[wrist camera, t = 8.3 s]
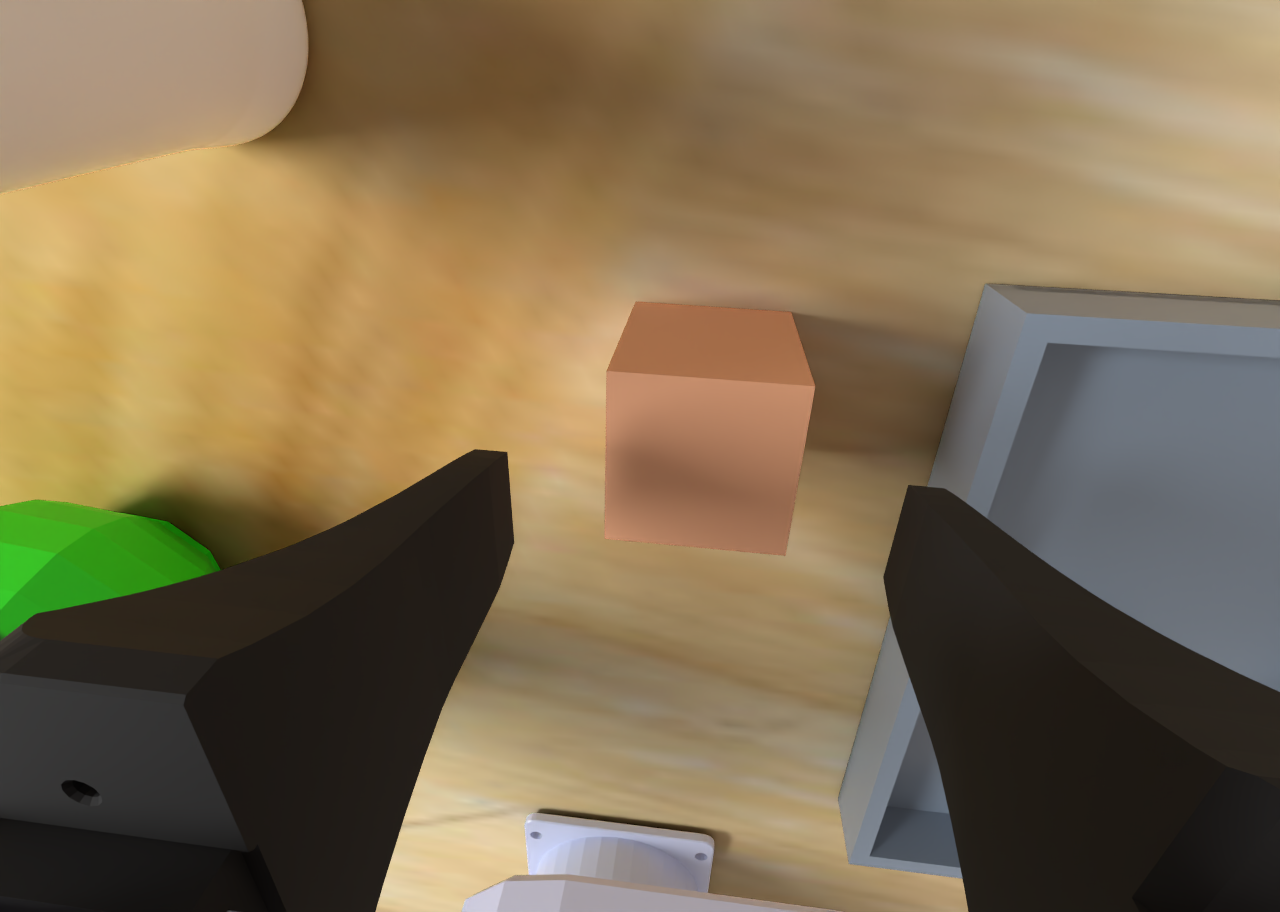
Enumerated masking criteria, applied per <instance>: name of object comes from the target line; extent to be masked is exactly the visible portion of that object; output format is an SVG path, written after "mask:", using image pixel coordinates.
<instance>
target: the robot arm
mask: <svg viewBox="0 0 1280 912" xmlns="http://www.w3.org/2000/svg"><path fill="white" fill-rule="evenodd" d="M513 544H514V534H513V521H512V508H511V495H510V482H509V469H508V456H507V452H500V451H488V450H476V449H475V450H473V451H471V452H469V453H467V454H465V455H463V456H461V457H459V458H458V459H456V460H454V461H452V462H451V463H449V464H447V465H446V466H444V467H442V468H441V469H439V470H437V471H436V472H434V473H432V474H431V475H429V476H427V477H426V478H424V479H422V480H421V481H419V482H417V483H415V484H414V485H412V486H410V487H409V488H407V489H405V490H404V491H402V492H400V493H398V494H397V495H395V496H393V497H391V498H389V499H387V500H386V501H384V502H382V503H380V504H378V505H376V506H374V507H372V508H371V509H369V510H367V511H365V512H363V513H361V514H359V515H357V516H355V517H354V518H352V519H350V520H348V521H346V522H344V523H342V524H339V525H337V526H335V527H333V528H331V529H329V530H326V531H324V532H322V533H320V534H317V535H315V536H313V537H310V538H308V539H306V540H303V541H301V542H298V543H296V544H294V545H291V546H289V547H286V548H283V549H281V550H278V551H275V552H272V553H269V554H266V555H264V556H261V557H258V558H255V559H252V560H249V561H246V562H244V563H241V564H238V565H235V566H232V567H229V568H226V569H223V570H220V571H217V572H213V573H210V574H206V575H203V576H200V577H196V578H193V579H189V580H186V581H182V582H178V583H174V584H171V585H167V586H163V587H159V588H155V589H151V590H147V591H143V592H139V593H135V594H130V595H126V596H121V597H116V598H112V599H107V600H102V601H97V602H92V603H87V604H82V605H78V606H73V607H68V608H63V609H58V610H53V611H47V612H41V613H37V614H35V615H33V616H32V617H30V618H29V619H28V620H26V621H25V622H24V623H23V624H21V625H20V626H19V627H17V628H16V629H15V630H14V631H12V632H11V633H10V634H8V635H7V636H6V637H5V638H3V639H2V640H1V641H0V912H375V911H376V907H377V904H378V900H379V897H380V893H381V890H382V886H383V883H384V880H385V877H386V873H387V870H388V867H389V864H390V861H391V857H392V854H393V851H394V848H395V845H396V842H397V838H398V835H399V832H400V829H401V826H402V822H403V819H404V816H405V813H406V810H407V807H408V804H409V801H410V798H411V795H412V792H413V789H414V786H415V783H416V780H417V777H418V775H419V772H420V769H421V766H422V763H423V760H424V757H425V754H426V751H427V749H428V746H429V743H430V740H431V738H432V735H433V732H434V729H435V727H436V724H437V721H438V718H439V715H440V713H441V710H442V707H443V705H444V703H445V701H446V698H447V696H448V694H449V691H450V689H451V687H452V685H453V683H454V680H455V678H456V676H457V674H458V672H459V670H460V668H461V666H462V664H463V662H464V660H465V658H466V656H467V654H468V652H469V650H470V648H471V646H472V644H473V642H474V640H475V638H476V636H477V634H478V632H479V630H480V628H481V625H482V623H483V621H484V619H485V617H486V615H487V613H488V611H489V609H490V607H491V605H492V603H493V601H494V599H495V596H496V594H497V592H498V590H499V588H500V585H501V582H502V579H503V576H504V573H505V570H506V567H507V564H508V561H509V557H510V554H511V551H512V548H513ZM884 583H885V589H886V595H887V601H888V607H889V612H890V617H891V622H892V627H893V630H894V633H895V636H896V639H897V642H898V645H899V648H900V651H901V654H902V657H903V660H904V663H905V666H906V669H907V672H908V675H909V678H910V681H911V683H912V686H913V689H914V692H915V695H916V698H917V701H918V704H919V707H920V710H921V713H922V715H923V718H924V721H925V724H926V727H927V730H928V733H929V736H930V739H931V742H932V745H933V749H934V752H935V756H936V759H937V762H938V766H939V770H940V775H941V779H942V783H943V788H944V792H945V797H946V801H947V806H948V810H949V814H950V819H951V823H952V828H953V833H954V838H955V843H956V848H957V853H958V858H959V863H960V868H961V873H962V878H963V883H964V888H965V894H966V899H967V905H968V911H969V912H1280V692H1279V691H1277V690H1275V689H1272V688H1270V687H1268V686H1266V685H1264V684H1261V683H1259V682H1257V681H1255V680H1252V679H1250V678H1248V677H1246V676H1244V675H1242V674H1239V673H1237V672H1235V671H1233V670H1231V669H1229V668H1227V667H1225V666H1223V665H1221V664H1219V663H1217V662H1215V661H1213V660H1211V659H1209V658H1207V657H1205V656H1203V655H1201V654H1199V653H1197V652H1195V651H1193V650H1191V649H1189V648H1187V647H1185V646H1183V645H1181V644H1179V643H1177V642H1175V641H1173V640H1172V639H1170V638H1168V637H1166V636H1164V635H1162V634H1160V633H1158V632H1157V631H1155V630H1153V629H1151V628H1150V627H1148V626H1146V625H1144V624H1143V623H1141V622H1139V621H1137V620H1136V619H1134V618H1132V617H1131V616H1129V615H1127V614H1125V613H1124V612H1122V611H1120V610H1118V609H1117V608H1115V607H1113V606H1112V605H1110V604H1108V603H1107V602H1105V601H1104V600H1102V599H1100V598H1099V597H1097V596H1095V595H1094V594H1092V593H1091V592H1089V591H1088V590H1086V589H1085V588H1083V587H1082V586H1080V585H1079V584H1077V583H1076V582H1074V581H1073V580H1071V579H1070V578H1068V577H1067V576H1065V575H1064V574H1062V573H1061V572H1059V571H1058V570H1056V569H1055V568H1054V567H1052V566H1051V565H1049V564H1048V563H1046V562H1045V561H1044V560H1042V559H1041V558H1039V557H1038V556H1037V555H1035V554H1034V553H1033V552H1031V551H1030V550H1028V549H1027V548H1026V547H1024V546H1023V545H1022V544H1020V543H1019V542H1018V541H1016V540H1015V539H1014V538H1012V537H1011V536H1010V535H1008V534H1007V533H1006V532H1004V531H1003V530H1002V529H1000V528H999V527H998V526H996V525H995V524H994V523H992V522H991V521H990V520H988V519H987V518H986V517H985V516H983V515H982V514H981V513H979V512H978V511H977V510H975V509H974V508H973V507H971V506H970V505H969V504H967V503H966V502H964V501H963V500H962V499H960V498H959V497H957V496H956V495H954V494H953V493H951V492H950V491H948V490H947V489H945V488H936V487H924V486H912V485H908V488H907V492H906V496H905V499H904V503H903V507H902V510H901V514H900V518H899V522H898V525H897V529H896V533H895V536H894V540H893V544H892V547H891V551H890V555H889V558H888V562H887V566H886V569H885V573H884ZM525 836H526V848H527V859H528V870H529V875H514V876H512V877H510V878H508V879H506V880H504V881H502V882H499V883H497V884H495V885H493V886H491V887H489V888H487V889H484V890H482V891H480V892H478V893H476V894H475V895H473V896H471V897H469V898H467V899H466V900H465V902H464V905H463V909H462V912H844V911H838V910H831V909H823V908H816V907H808V906H801V905H793V904H786V903H779V902H771V901H764V900H756V899H749V898H742V897H734V896H727V895H719V894H712V893H708V889H709V882H710V875H711V868H712V862H713V855H714V840H713V839H712V838H711V837H710V836H708V835H706V834H701V833H693V832H685V831H677V830H669V829H661V828H653V827H646V826H638V825H630V824H622V823H614V822H606V821H598V820H591V819H583V818H575V817H567V816H559V815H551V814H543V813H531V814H529V815H528V816H527V818H526V822H525Z"/></svg>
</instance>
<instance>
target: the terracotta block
mask: <svg viewBox="0 0 1280 912" xmlns="http://www.w3.org/2000/svg"><path fill="white" fill-rule="evenodd" d="M814 391H815V384H814V381H813V378H812V375H811V371H810V368H809V365H808V362H807V359H806V356H805V353H804V350H803V347H802V344H801V341H800V338H799V335H798V332H797V328H796V325H795V322H794V319H793V316H792V313H791V312H783V311H768V310H753V309H738V308H723V307H708V306H693V305H677V304H662V303H647V302H635V305H634V307H633V309H632V312H631V314H630V316H629V319H628V321H627V324H626V326H625V328H624V331H623V333H622V336H621V338H620V340H619V343H618V345H617V347H616V350H615V352H614V355H613V357H612V359H611V362H610V364H609V367H608V369H607V383H606V466H605V539H614V540H624V541H635V542H646V543H656V544H667V545H678V546H688V547H699V548H710V549H720V550H731V551H741V552H752V553H763V554H773V555H784V556H785V555H786V549H787V543H788V538H789V532H790V526H791V521H792V515H793V510H794V504H795V498H796V493H797V487H798V481H799V476H800V470H801V465H802V459H803V453H804V448H805V442H806V436H807V431H808V425H809V420H810V414H811V408H812V403H813V397H814Z"/></svg>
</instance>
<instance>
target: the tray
mask: <svg viewBox="0 0 1280 912" xmlns="http://www.w3.org/2000/svg"><path fill="white" fill-rule="evenodd" d="M927 487H936V488H945V489H947V490H948V491H950V492H951V493H953V494H954V495H956V496H957V497H959V498H960V499H962V500H963V501H964V502H966V503H967V504H969V505H970V506H971V507H973V508H974V509H975V510H977V511H978V512H979V513H981V514H982V515H983V516H985V517H986V518H987V519H988V520H990V521H991V522H992V523H994V524H995V525H996V526H998V527H999V528H1000V529H1002V530H1003V531H1004V532H1006V533H1007V534H1008V535H1010V536H1011V537H1012V538H1014V539H1015V540H1016V541H1018V542H1019V543H1020V544H1022V545H1023V546H1024V547H1026V548H1027V549H1028V550H1030V551H1031V552H1033V553H1034V554H1035V555H1037V556H1038V557H1039V558H1041V559H1042V560H1044V561H1045V562H1046V563H1048V564H1049V565H1051V566H1052V567H1054V568H1055V569H1056V570H1058V571H1059V572H1061V573H1062V574H1064V575H1065V576H1067V577H1068V578H1070V579H1071V580H1073V581H1074V582H1076V583H1077V584H1079V585H1080V586H1082V587H1083V588H1085V589H1086V590H1088V591H1089V592H1091V593H1092V594H1094V595H1095V596H1097V597H1099V598H1100V599H1102V600H1104V601H1105V602H1107V603H1108V604H1110V605H1112V606H1113V607H1115V608H1117V609H1118V610H1120V611H1122V612H1124V613H1125V614H1127V615H1129V616H1131V617H1132V618H1134V619H1136V620H1137V621H1139V622H1141V623H1143V624H1144V625H1146V626H1148V627H1150V628H1151V629H1153V630H1155V631H1157V632H1158V633H1160V634H1162V635H1164V636H1166V637H1168V638H1170V639H1172V640H1173V641H1175V642H1177V643H1179V644H1181V645H1183V646H1185V647H1187V648H1189V649H1191V650H1193V651H1195V652H1197V653H1199V654H1201V655H1203V656H1205V657H1207V658H1209V659H1211V660H1213V661H1215V662H1217V663H1219V664H1221V665H1223V666H1225V667H1227V668H1229V669H1231V670H1233V671H1235V672H1237V673H1239V674H1242V675H1244V676H1246V677H1248V678H1250V679H1252V680H1255V681H1257V682H1259V683H1261V684H1264V685H1266V686H1268V687H1270V688H1272V689H1275V690H1277V691H1279V692H1280V301H1279V300H1262V299H1244V298H1227V297H1210V296H1192V295H1175V294H1158V293H1140V292H1123V291H1106V290H1088V289H1071V288H1054V287H1037V286H1019V285H1002V284H985V286H984V290H983V293H982V297H981V300H980V304H979V307H978V311H977V314H976V318H975V321H974V325H973V328H972V332H971V335H970V339H969V342H968V346H967V349H966V353H965V356H964V360H963V363H962V367H961V370H960V374H959V377H958V381H957V384H956V388H955V391H954V395H953V398H952V402H951V405H950V409H949V412H948V416H947V419H946V423H945V426H944V430H943V433H942V437H941V440H940V444H939V447H938V451H937V454H936V458H935V461H934V465H933V468H932V472H931V475H930V479H929V482H928V486H927ZM838 801H839V807H840V813H841V819H842V825H843V831H844V837H845V843H846V850H847V856H848V862H849V864H854V865H861V866H869V867H877V868H885V869H892V870H900V871H908V872H916V873H924V874H931V875H939V876H947V877H955V878H962V873H961V868H960V863H959V858H958V853H957V848H956V843H955V838H954V833H953V828H952V823H951V819H950V814H949V810H948V806H947V801H946V797H945V792H944V788H943V783H942V779H941V775H940V770H939V766H938V762H937V759H936V756H935V752H934V749H933V745H932V742H931V739H930V736H929V733H928V730H927V727H926V724H925V721H924V718H923V715H922V713H921V710H920V707H919V704H918V701H917V698H916V695H915V692H914V689H913V686H912V683H911V681H910V678H909V675H908V672H907V669H906V666H905V663H904V660H903V657H902V654H901V651H900V648H899V645H898V642H897V639H896V636H895V633H894V630H893V627H892V622H891V617H890V619H889V622H888V626H887V629H886V633H885V636H884V640H883V643H882V647H881V650H880V654H879V657H878V661H877V664H876V668H875V671H874V675H873V678H872V682H871V685H870V689H869V692H868V696H867V699H866V703H865V706H864V710H863V713H862V717H861V720H860V724H859V727H858V731H857V734H856V738H855V741H854V745H853V748H852V752H851V755H850V759H849V762H848V765H847V769H846V772H845V776H844V779H843V783H842V786H841V790H840V793H839V797H838ZM962 879H963V878H962Z"/></svg>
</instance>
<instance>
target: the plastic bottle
mask: <svg viewBox="0 0 1280 912" xmlns="http://www.w3.org/2000/svg"><path fill="white" fill-rule="evenodd" d="M220 570H221V569H220V568H219V566H218V564H217V562H216V561H215V559H214V557H213V555H212V554H211V552H210V551H209V550H208V549H206V548H205V547H204V546H202V545H201V544H199V543H198V542H196V541H195V540H194V539H192V538H191V537H189V536H188V535H186V534H185V533H184V532H182V531H181V530H179V529H178V528H176V527H175V526H174V525H172V524H171V523H169V522H168V521H162V520H157V519H152V518H147V517H142V516H137V515H132V514H127V513H119V512H113V511H108V510H103V509H98V508H93V507H88V506H83V505H78V504H73V503H68V502H57V501H46V500H31V501H26V502H21V503H15V504H10V505H4V506H0V641H1V640H2V639H3V638H5V637H6V636H7V635H8V634H10V633H11V632H12V631H14V630H15V629H16V628H17V627H19V626H20V625H21V624H23V623H24V622H25V621H26V620H28V619H29V618H30V617H32V616H33V615H35V614H37V613H41V612H47V611H53V610H58V609H63V608H68V607H73V606H78V605H82V604H87V603H92V602H97V601H102V600H107V599H112V598H116V597H121V596H126V595H130V594H135V593H139V592H143V591H147V590H151V589H155V588H159V587H163V586H167V585H171V584H174V583H178V582H182V581H186V580H189V579H193V578H196V577H200V576H203V575H206V574H210V573H213V572H217V571H220Z"/></svg>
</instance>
